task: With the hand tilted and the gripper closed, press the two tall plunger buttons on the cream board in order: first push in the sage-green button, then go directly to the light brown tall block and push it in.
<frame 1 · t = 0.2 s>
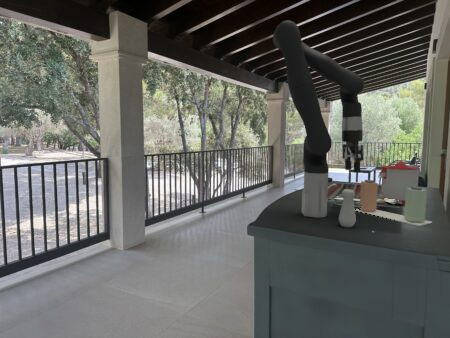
hand: (352, 170, 134), 18 cm above the table, tool pointing down, fingers open, 8 cm apart
salt shaker: (346, 226, 121), on the table
light brown tall block: (368, 195, 143), point 7 cm above the table, slide at 0.0 cm
red roofed toy house: (396, 203, 162), on the table
button board: (389, 216, 136), on the table
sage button: (415, 203, 127), point 7 cm above the table, slide at 0.0 cm
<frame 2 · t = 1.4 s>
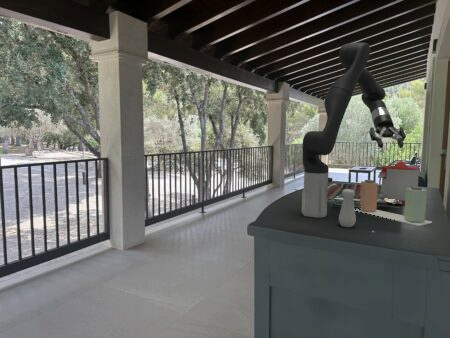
hand: (391, 146, 145), 27 cm above the table, tool tilted 45°, fingers open, 7 cm apart
nothing on the table moved.
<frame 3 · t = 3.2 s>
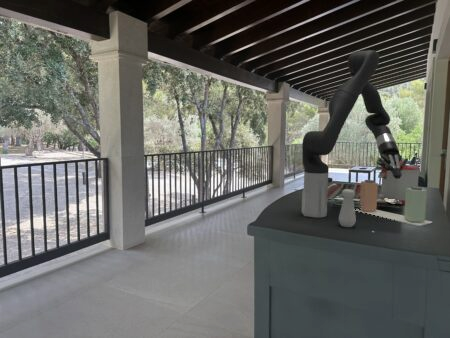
hand: (398, 177, 140), 15 cm above the table, tool tilted 45°, fingers closed
nothing on the table moved.
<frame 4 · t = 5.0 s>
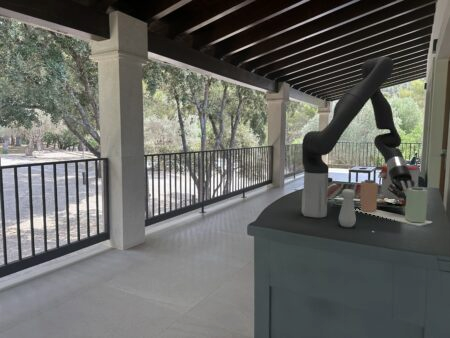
hand: (411, 206, 129), 5 cm above the table, tool tilted 45°, fingers closed
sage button: (416, 203, 126), point 7 cm above the table, slide at 0.6 cm, touching gripper
everything else where it was.
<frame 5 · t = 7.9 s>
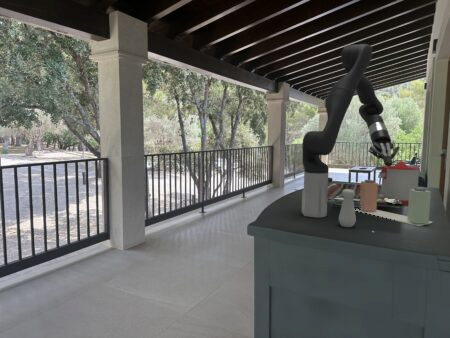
hand: (389, 165, 142), 20 cm above the table, tool tilted 45°, fingers closed
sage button: (418, 205, 124), point 7 cm above the table, slide at 2.6 cm
everything else where it was.
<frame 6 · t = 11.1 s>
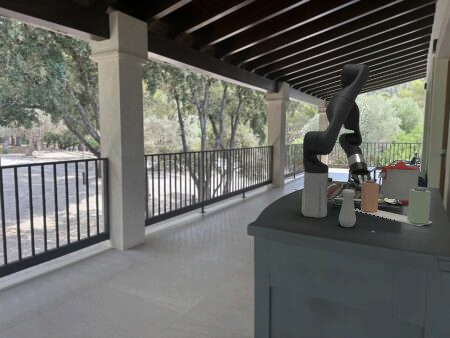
hand: (366, 197, 145), 5 cm above the table, tool tilted 45°, fingers closed
light brown tall block: (369, 195, 142), point 7 cm above the table, slide at 1.2 cm, touching gripper
everything else where it was.
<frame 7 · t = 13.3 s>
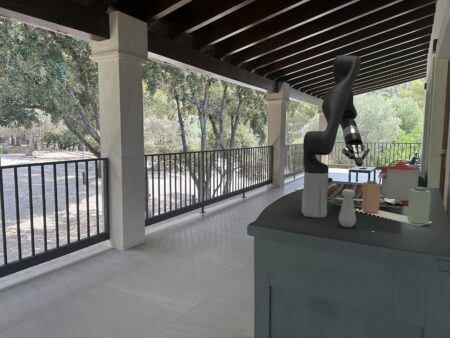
hand: (359, 165, 154), 18 cm above the table, tool tilted 45°, fingers closed
light brown tall block: (371, 196, 140), point 7 cm above the table, slide at 2.6 cm
everything else where it was.
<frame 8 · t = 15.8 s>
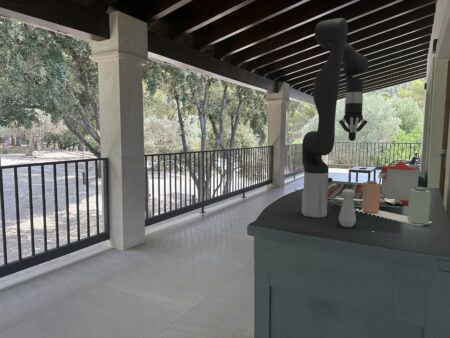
hand: (351, 140, 158), 29 cm above the table, tool pointing down, fingers closed
nothing on the table moved.
at the end: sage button slide at 2.6 cm; light brown tall block slide at 2.6 cm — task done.
